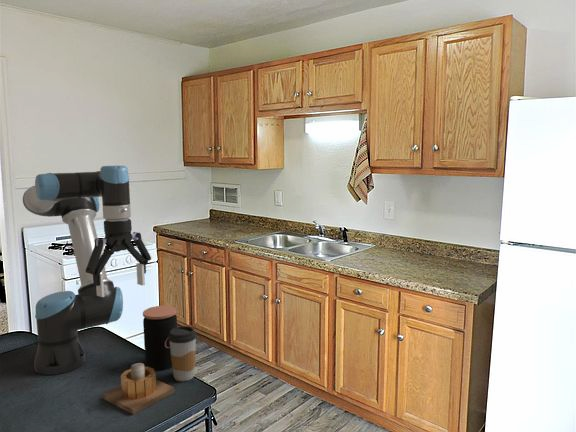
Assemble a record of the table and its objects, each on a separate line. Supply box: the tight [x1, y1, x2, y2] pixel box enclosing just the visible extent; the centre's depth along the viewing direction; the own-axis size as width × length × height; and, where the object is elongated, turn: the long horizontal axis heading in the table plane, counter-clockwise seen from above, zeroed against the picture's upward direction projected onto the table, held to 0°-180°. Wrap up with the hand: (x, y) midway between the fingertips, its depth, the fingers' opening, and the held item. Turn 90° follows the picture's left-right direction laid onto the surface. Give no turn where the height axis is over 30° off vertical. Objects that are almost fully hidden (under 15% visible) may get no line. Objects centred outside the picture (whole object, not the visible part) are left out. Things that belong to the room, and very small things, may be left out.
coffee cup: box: [169, 325, 197, 382], centre depth 142 cm, size 8×8×15 cm
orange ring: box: [120, 366, 157, 399], centre depth 131 cm, size 9×9×5 cm
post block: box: [102, 362, 176, 416], centre depth 131 cm, size 14×14×9 cm
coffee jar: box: [142, 305, 178, 371], centre depth 151 cm, size 11×11×18 cm
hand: (121, 290), depth 136 cm, fingers open, 13 cm apart
